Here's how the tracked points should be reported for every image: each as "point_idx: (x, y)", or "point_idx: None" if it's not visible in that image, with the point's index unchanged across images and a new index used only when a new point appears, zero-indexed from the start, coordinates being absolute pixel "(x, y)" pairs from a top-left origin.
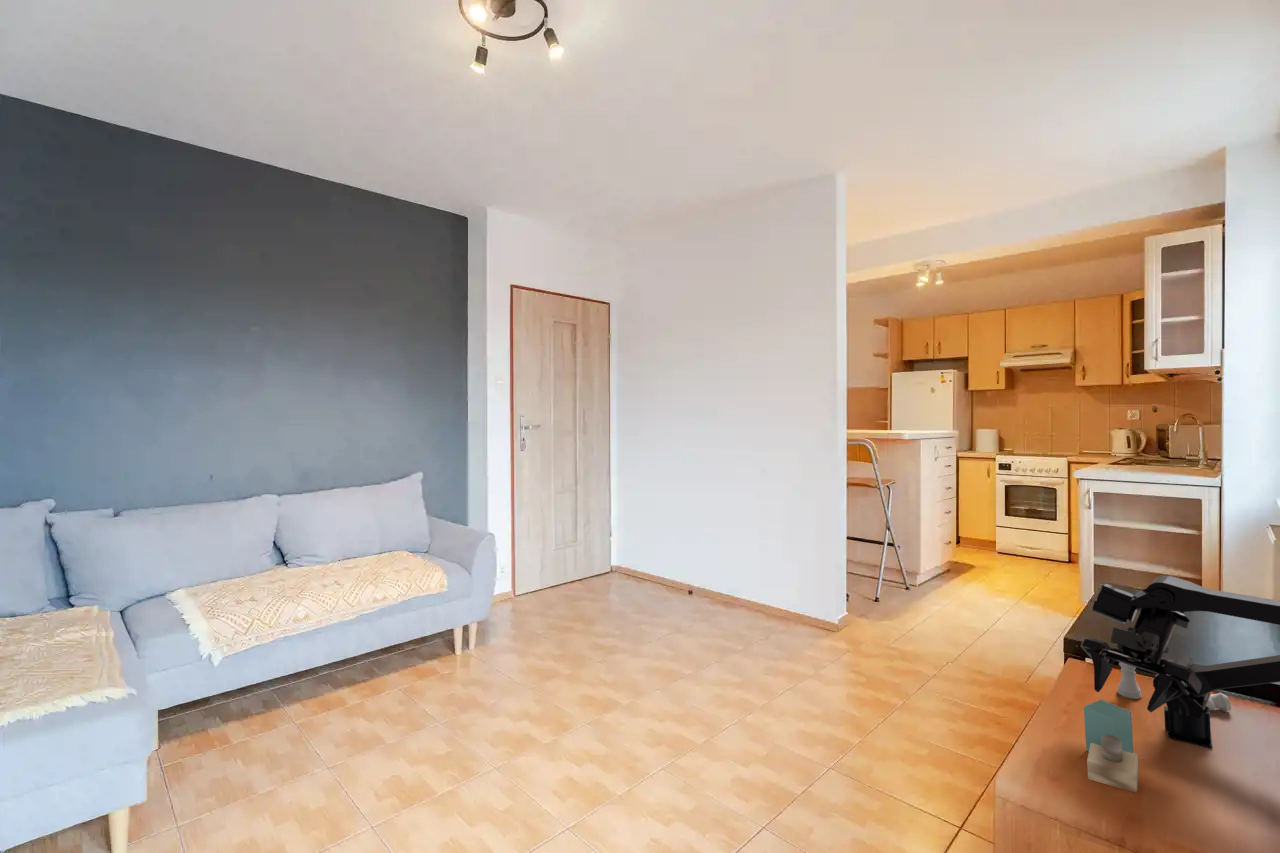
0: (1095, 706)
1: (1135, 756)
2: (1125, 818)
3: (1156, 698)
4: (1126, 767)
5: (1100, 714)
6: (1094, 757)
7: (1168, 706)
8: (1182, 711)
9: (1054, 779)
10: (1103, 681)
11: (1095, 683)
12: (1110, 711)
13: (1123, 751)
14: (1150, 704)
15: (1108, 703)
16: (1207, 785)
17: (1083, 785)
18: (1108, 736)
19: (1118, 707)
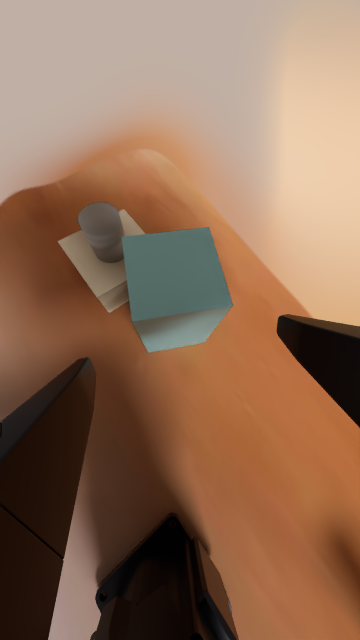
0: (199, 253)
1: (94, 288)
2: (48, 208)
3: (31, 398)
4: (77, 243)
5: (161, 236)
6: (125, 225)
7: (166, 599)
8: (108, 618)
9: (147, 200)
10: (323, 372)
11: (306, 318)
12: (158, 264)
13: (116, 283)
14: (71, 370)
15: (202, 302)
16: (23, 393)
17: None
18: (109, 221)
19: (169, 308)
